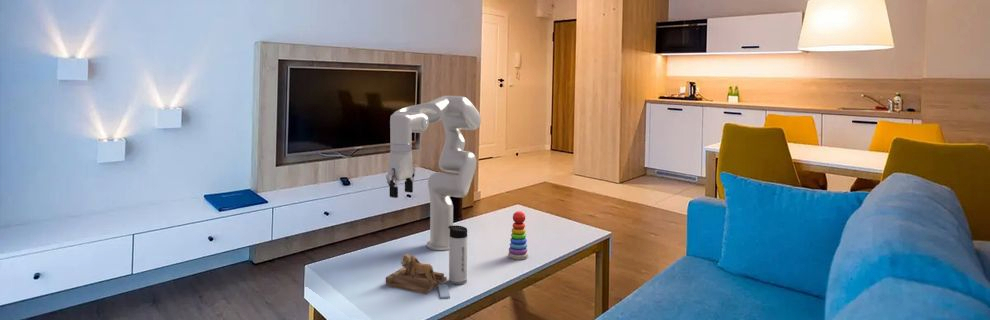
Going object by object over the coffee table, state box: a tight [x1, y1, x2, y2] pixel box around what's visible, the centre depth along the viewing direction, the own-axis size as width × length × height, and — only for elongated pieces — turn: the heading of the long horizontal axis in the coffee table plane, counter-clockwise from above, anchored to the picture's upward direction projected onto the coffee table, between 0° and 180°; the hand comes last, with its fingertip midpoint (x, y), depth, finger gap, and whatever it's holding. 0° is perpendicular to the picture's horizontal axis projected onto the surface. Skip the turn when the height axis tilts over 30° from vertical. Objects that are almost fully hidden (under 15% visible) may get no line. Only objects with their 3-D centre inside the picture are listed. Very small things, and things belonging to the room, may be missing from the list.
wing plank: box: [437, 283, 451, 300], centre depth 178 cm, size 10×3×1 cm, turn 11°
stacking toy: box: [507, 210, 529, 260], centre depth 213 cm, size 8×8×19 cm
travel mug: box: [448, 225, 468, 286], centre depth 186 cm, size 6×7×20 cm
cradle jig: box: [385, 266, 447, 295], centre depth 186 cm, size 14×16×3 cm
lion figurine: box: [400, 253, 440, 285], centre depth 184 cm, size 15×5×9 cm, turn 70°
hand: (401, 194), depth 194 cm, fingers open, 9 cm apart
